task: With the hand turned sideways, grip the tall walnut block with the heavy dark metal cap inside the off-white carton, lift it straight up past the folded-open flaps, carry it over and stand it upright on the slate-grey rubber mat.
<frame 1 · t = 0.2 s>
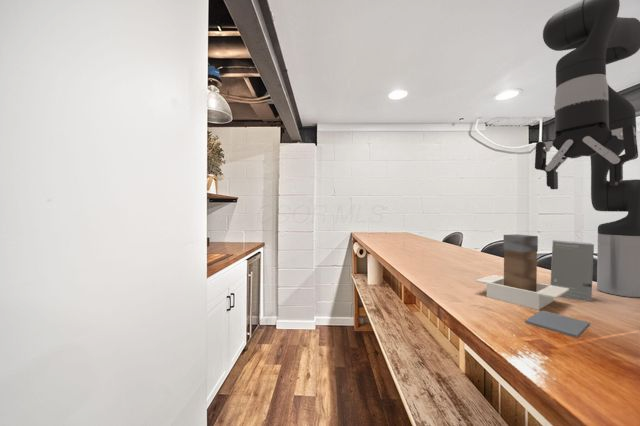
hand: (581, 187, 52), 29 cm above the table, tool pointing down, fingers open, 8 cm apart
capped block: (519, 298, 70), point 1 cm above the table, touching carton
skincare box: (570, 298, 73), on the table
mat: (557, 326, 55), on the table
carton: (519, 300, 70), on the table
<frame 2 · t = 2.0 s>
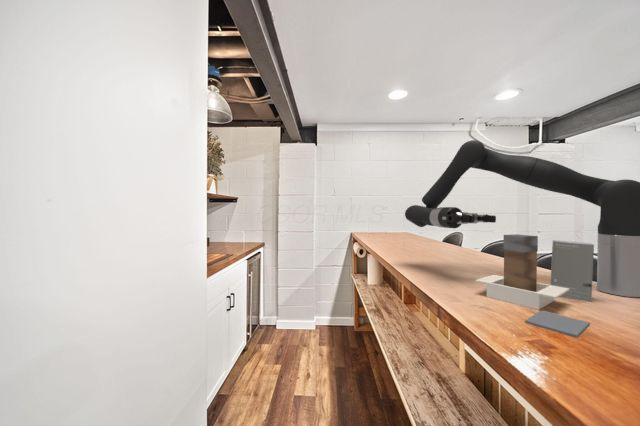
hand: (484, 219, 81), 22 cm above the table, tool horizontal, fingers open, 8 cm apart
nothing on the table moved.
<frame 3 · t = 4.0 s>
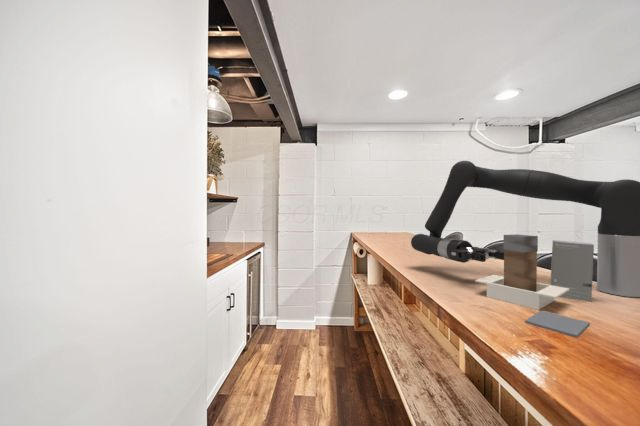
hand: (496, 257, 77), 10 cm above the table, tool horizontal, fingers open, 8 cm apart
nothing on the table moved.
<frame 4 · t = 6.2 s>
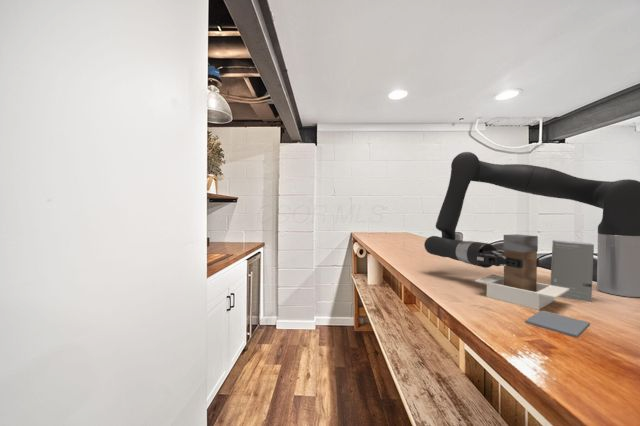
hand: (530, 263, 68), 10 cm above the table, tool horizontal, fingers closed on capped block, 5 cm apart
capped block: (519, 298, 70), point 1 cm above the table, touching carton, gripper
everything else where it was.
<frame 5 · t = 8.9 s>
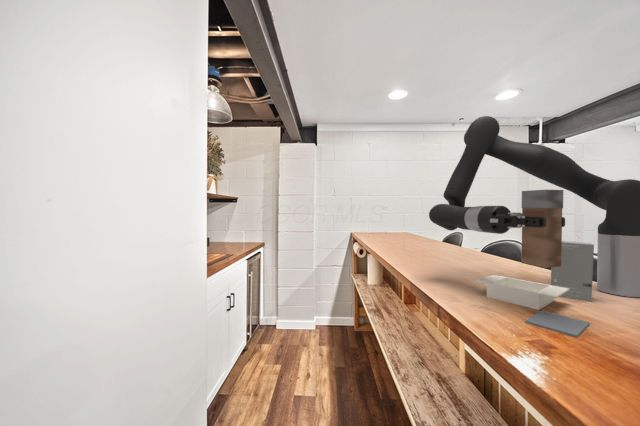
hand: (554, 222, 57), 22 cm above the table, tool horizontal, fingers closed on capped block, 5 cm apart
capped block: (540, 264, 60), point 12 cm above the table, touching gripper
everything else where it was.
when the fingers open (12 cm above the table, at t = 11.7 s): capped block stays where it is, resting on mat.
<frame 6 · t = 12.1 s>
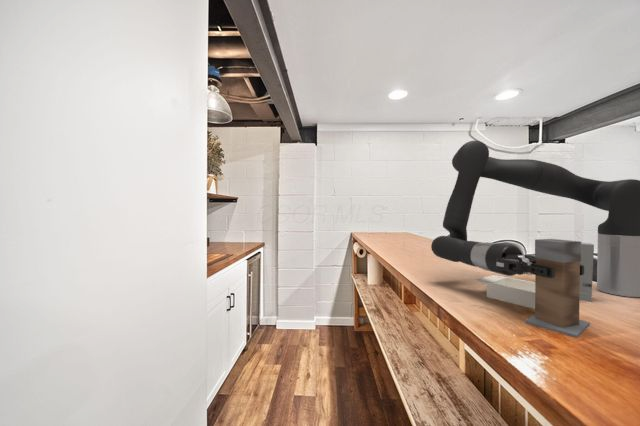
hand: (568, 271, 53), 12 cm above the table, tool horizontal, fingers open, 8 cm apart
capped block: (556, 321, 55), point 1 cm above the table, touching mat
everything else where it was.
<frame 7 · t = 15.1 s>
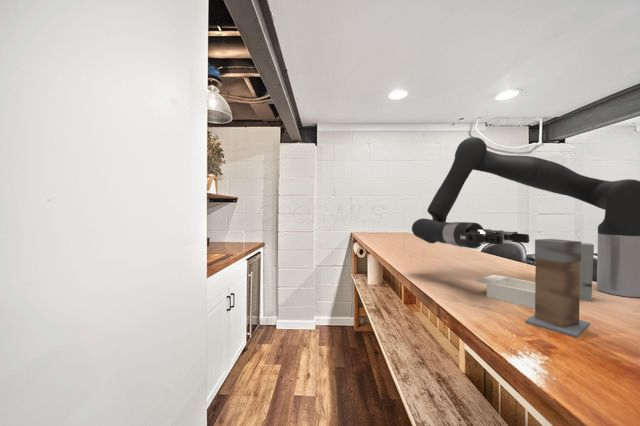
hand: (515, 239, 64), 17 cm above the table, tool horizontal, fingers open, 8 cm apart
nothing on the table moved.
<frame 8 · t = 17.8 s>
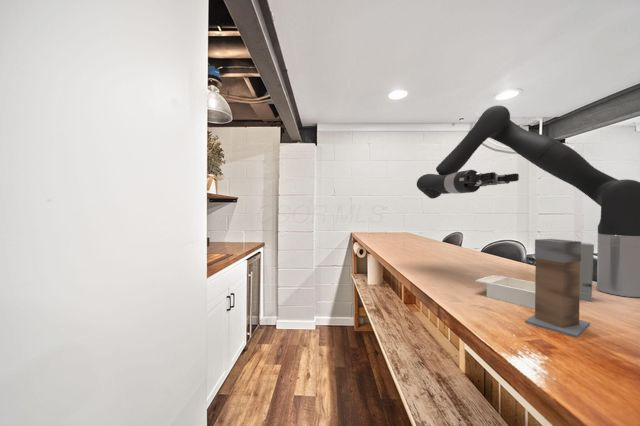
hand: (506, 176, 75), 34 cm above the table, tool horizontal, fingers open, 8 cm apart
nothing on the table moved.
at the end: capped block inside the target area on the mat (0.1 cm from its centre), point 1.0 cm above the mat's base; capped block tilted 0°; the gripper is holding nothing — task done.
